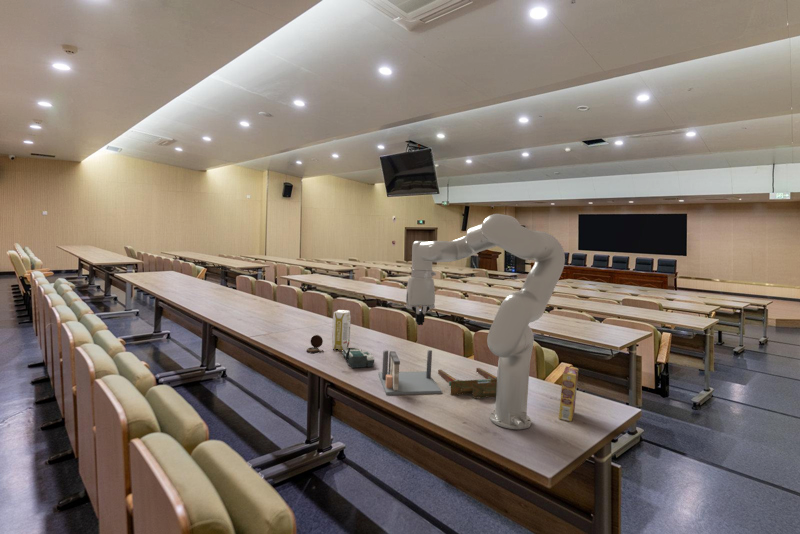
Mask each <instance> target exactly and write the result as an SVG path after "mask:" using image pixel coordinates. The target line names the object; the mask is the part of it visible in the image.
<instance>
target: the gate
mask: <svg viewBox="0 0 800 534" xmlns="http://www.w3.org/2000/svg"><path fill="white" fill-rule="evenodd" d="M400 365H401V360H400V358H399V357H398V354H397V352H396V351H395V350H394V351H388V372H389V375H392V387H393V389H394V390H398V384H399V372H400Z"/></svg>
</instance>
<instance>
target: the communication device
mask: <svg viewBox="0 0 800 534" xmlns="http://www.w3.org/2000/svg"><path fill="white" fill-rule="evenodd" d="M341 354H342V355H343V357H344V360H345V361H347V364H348V365H349V367H351V368H353V369H354V368H366V367H367V368H370V367H371V368H372V367H374V366H375V365H374V363H375V358H374V355H373V354H372V353H370V352H368V351H363V350H362V349H360V348H357V347H348V348H345V349H344V350H343V351H342V352H341Z"/></svg>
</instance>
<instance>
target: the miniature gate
mask: <svg viewBox="0 0 800 534" xmlns="http://www.w3.org/2000/svg"><path fill="white" fill-rule="evenodd" d="M475 369H476V373H477V372H478V373H477V374H479V375H480V376H482V377H483V378H484V379H468V380H467V379H466V380H462V379H461V380H460V379H456V378H454V377H453V376H452V375H450V374H448V373H447V372H445V371H444V370H443V369H438V370H437V374H438V375H439V376H440V377H441V379H443V380H445V382H448V386H450V396H459V395H470V394H472V393H473V394H472V399H473V398H474V399H481V398H496V388H497V375H496V376H495V375H494V374H492V373H490V372H489V371H486V370H484V369H482V368H481V367H476V368H475Z"/></svg>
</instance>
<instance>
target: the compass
mask: <svg viewBox="0 0 800 534" xmlns="http://www.w3.org/2000/svg"><path fill="white" fill-rule="evenodd" d="M323 342H324V341H323V337H321V335H318V334H315V335H313V336H312V337H311V338H310V344H311V347H309V348H307V349H306V352H307V353H309V352H317V353H319V352H323V350H322V349H320V347H322V345H323Z"/></svg>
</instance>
